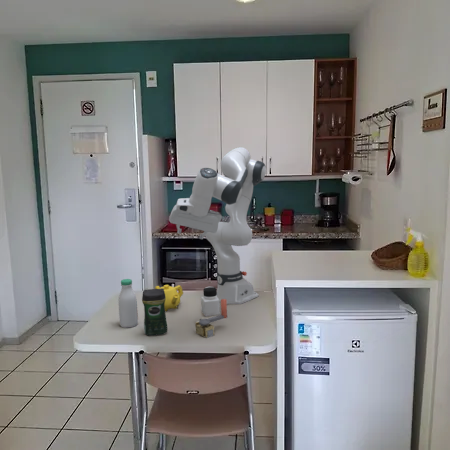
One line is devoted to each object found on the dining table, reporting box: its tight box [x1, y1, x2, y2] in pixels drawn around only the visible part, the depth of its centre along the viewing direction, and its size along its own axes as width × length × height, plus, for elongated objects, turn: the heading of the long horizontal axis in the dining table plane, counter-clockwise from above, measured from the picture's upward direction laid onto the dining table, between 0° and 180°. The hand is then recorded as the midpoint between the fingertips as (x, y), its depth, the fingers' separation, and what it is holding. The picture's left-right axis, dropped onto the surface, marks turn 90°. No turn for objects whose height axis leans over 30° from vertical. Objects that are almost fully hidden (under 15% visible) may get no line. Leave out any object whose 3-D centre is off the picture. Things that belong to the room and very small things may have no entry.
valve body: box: [194, 321, 215, 339], centre depth 175 cm, size 8×5×4 cm, turn 37°
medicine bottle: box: [200, 286, 221, 317], centre depth 196 cm, size 7×7×12 cm
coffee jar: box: [141, 287, 169, 337], centre depth 176 cm, size 10×8×19 cm
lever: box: [198, 299, 228, 326], centre depth 176 cm, size 13×4×8 cm, turn 127°
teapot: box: [154, 284, 184, 312], centre depth 204 cm, size 20×18×11 cm
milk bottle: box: [118, 278, 139, 328], centre depth 184 cm, size 8×8×20 cm
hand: (189, 235), depth 179 cm, fingers open, 8 cm apart
